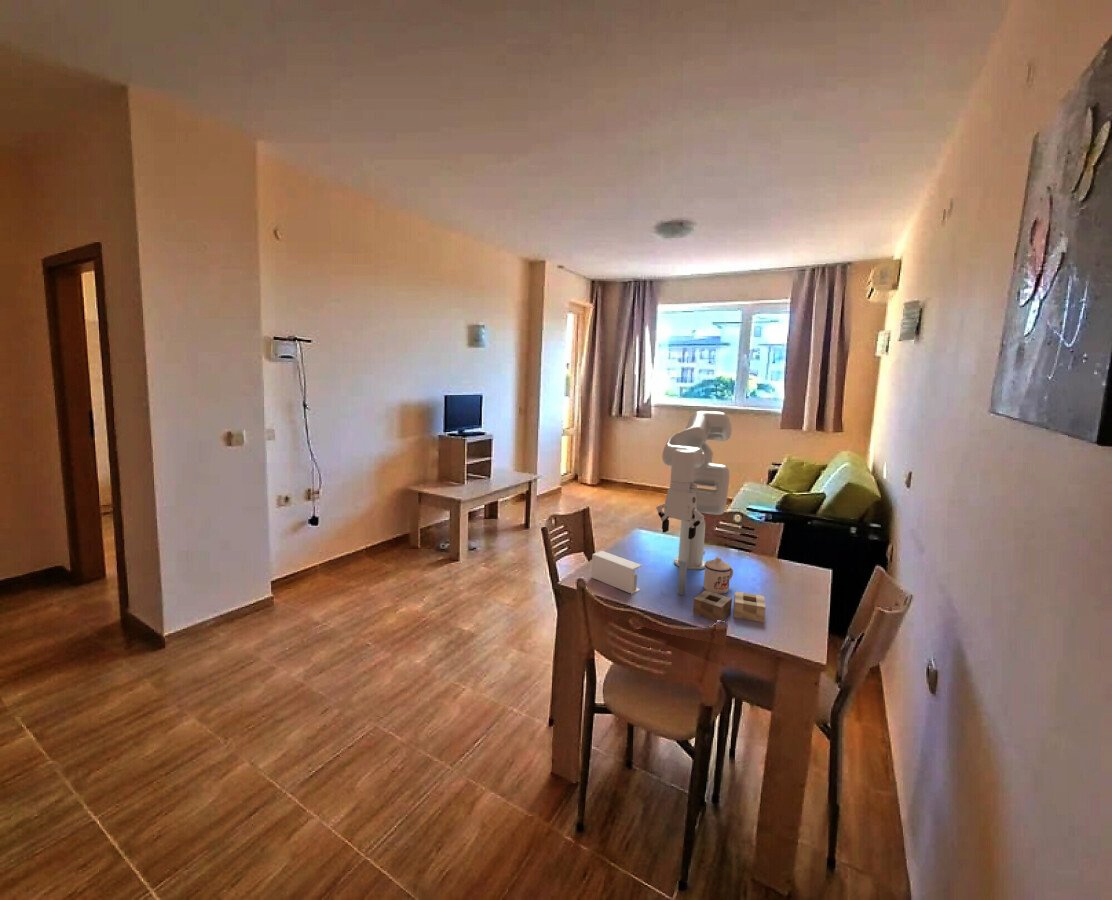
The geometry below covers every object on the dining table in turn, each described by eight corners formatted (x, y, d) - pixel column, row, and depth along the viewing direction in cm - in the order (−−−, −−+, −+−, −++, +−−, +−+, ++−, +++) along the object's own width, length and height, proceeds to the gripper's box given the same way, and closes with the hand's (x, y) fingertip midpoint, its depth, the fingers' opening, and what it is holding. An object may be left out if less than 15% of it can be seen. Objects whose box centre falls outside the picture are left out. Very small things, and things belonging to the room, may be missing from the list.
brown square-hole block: (704, 604, 172) (705, 590, 171) (730, 612, 166) (732, 598, 165) (692, 613, 165) (693, 598, 164) (720, 622, 159) (721, 607, 158)
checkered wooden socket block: (733, 605, 172) (735, 591, 171) (762, 610, 169) (764, 595, 168) (733, 617, 163) (735, 602, 162) (764, 622, 160) (765, 607, 160)
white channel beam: (641, 590, 181) (642, 565, 180) (631, 595, 177) (632, 569, 176) (598, 573, 195) (599, 549, 194) (588, 577, 191) (589, 553, 190)
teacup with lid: (715, 596, 179) (718, 564, 177) (697, 586, 187) (699, 555, 185) (740, 590, 184) (743, 559, 182) (722, 581, 192) (724, 551, 190)
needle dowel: (679, 591, 181) (681, 559, 179) (686, 593, 180) (688, 560, 178) (676, 593, 179) (678, 560, 177) (682, 596, 178) (685, 562, 176)
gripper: (710, 488, 170) (706, 538, 173) (664, 480, 181) (661, 527, 184) (700, 492, 164) (696, 543, 167) (653, 483, 175) (650, 531, 178)
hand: (678, 534), depth 175 cm, fingers open, 9 cm apart
